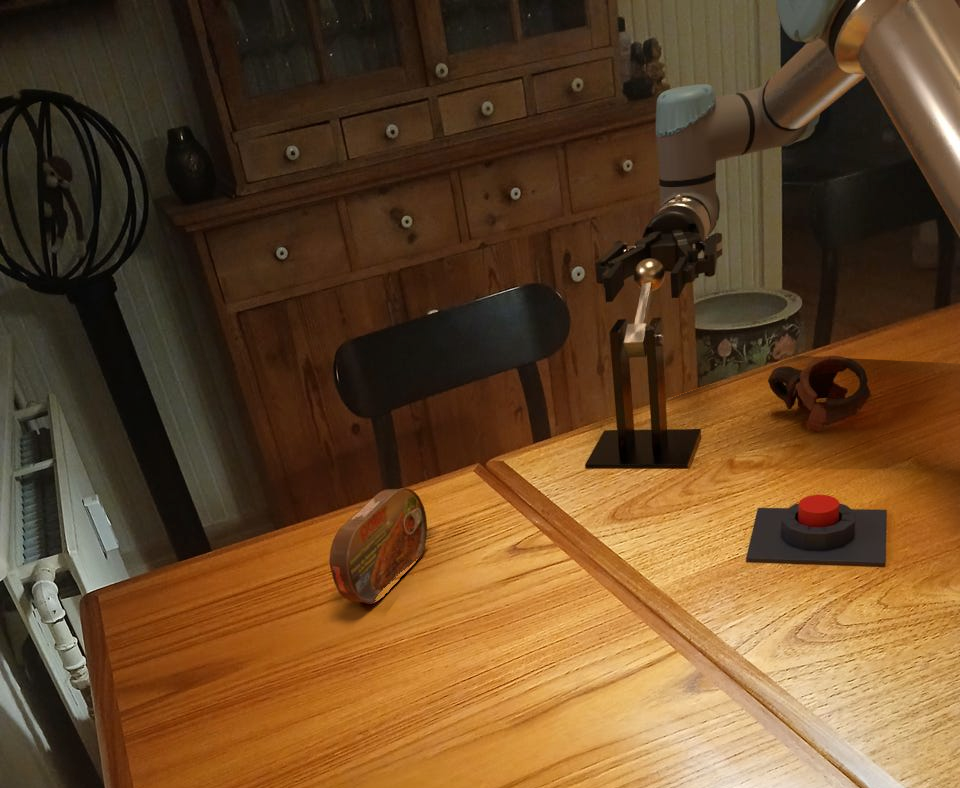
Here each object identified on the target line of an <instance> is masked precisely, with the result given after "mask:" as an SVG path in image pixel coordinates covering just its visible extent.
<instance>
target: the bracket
mask: <svg viewBox="0 0 960 788" xmlns="http://www.w3.org/2000/svg"><path fill="white" fill-rule="evenodd" d="M662 320H663V319H662V317H661V316H658V317H652V319H651V320H650V322H649V324H648V325H647V329H646V331H645V333H646V350H647V355H646V363H647V364H646V365H647V381H648V383H647V384H648V397H649V413H650V415H649V416H650V429H635V422H634V421H635V420H634V406H633V393H632V379H631V363H630V358H627V356H626V351H625V347H624V338H625V333H626V328H627V324H628V319H627V318H619V319H617V320H616V322H615V323H614V325H612V327H611V329H610V330H609V332H608V333H609V339H608V345H609V348H610V357H611V358H610V359H611V370H612V381H613V395H614V406H615V408H614V409H615V420H616V421H615V422H616V429H604V430H603V431H602V433H601V435H600V437H599V439H598V440H597V442H596V444H595V446H594V448H593V450H592V451H591V453H590V455H589V456H588V459H587V460H586V462H585V464H584V469H585V470H690V468H691V466H692V463H693V461H694V458H695V456H696V452H697V450H698V447H699V445H700V442H701V439H702V429H701V428H677V429H676V428H673V429H672V428H670V429H668V418H667V417H668V414H667V399H666V398H667V397H666V394H667V393H666V378H665V375H666V374H665V357H664V355H665V354H664V345H665V333H664V332H663V321H662Z"/></svg>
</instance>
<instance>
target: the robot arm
mask: <svg viewBox="0 0 960 788" xmlns="http://www.w3.org/2000/svg"><path fill="white" fill-rule="evenodd" d="M775 5H776V11H777V15H778V19H779V23H780V25H781V27H782V29H783V31H784V32H785V34H786V35H787V36H788V37H789V38H790V39H791V40H792V41H794V42H799V43H800V42H802V43H804V45H803V46H802V48H800V49H799V50H798V51H797V52H796V53H795V54H794V55H793V56H792V57H791V58H790V59H789V60H788V61H787V62H786V63H785V64H784V65H783V66H781V68H780V69H779V70H778V71H777V72H775V73H774V74H773V75H772V76H771V77H770V78H769V79H767V80H766V82H764V83H763V84H762V85H761V86H759V87H757V88H753V89H749V90H745V91H741V92H736V93H731V94H726V95H720V96H715V89H714V87H713V86H712V85H711V84H709V83H708V84H707V83H699V84H691V85H684V86H677V87H673V88H670V89H667V90H665V91H663V92H662V93H660V95H658V97H657V99H656V104H655V105H656V106H655V107H656V108H655V109H656V110H655V136H656V137H655V138H656V149H657V162H658V174H659V175H658V176H659V177H658V183H659V184H658V191H659V192H658V193H659V210H658V211H657V212H656V214H655V215H653V217H652V218H651V219H650V220H649V221H648V224H647V225H646V227H645V229H644V231H643V234H642V237H641V238H640V239H638V240H636V241H635V242H634V244H633V245H628V243H627V242H624V241H623V240H619V239H618V240H616V241H614V242H613V246H612V247H611V248H609V249H608V250H607V251H606V252H604V253H603V254H601V256H600V257H599V258H598V259H596V260H595V261H594V267H595V268H594V269H595V271H594V272H595V279H596V280H595V282H596V284H599V285H601V284H602V287H603V288H604V296H605V297H604V299H605V303H612V302H613V301H615V299H616V297H617V296H618V294H619V293H620V292H621V290H623V287H624V286H625V280H627V279H628V278H631V277H632V276H634V271H635V268H636V267H637V265H638V264H639V263H640V262H641V261H643V260H645V259H649V258H653V259H656V260H658V261H659V262H661V263H662V265H663V267H664V269H665V273H670V289H671V290H670V293H671V294H670V295H671V299H679V297H680V296H681V294H682V292H683V291H684V288H685V287H686V285H687V284H689V283H690V284H691V283H694V282H695V281H696V279H699V278H700V277H699V275H701V274H704V277H709V278H711V277H714V276H715V275H716V272H717V271H716V270H717V263H718V259H719V258H720V257H722V256H723V233H721V232H715V233H713V231H714V230H715V228H716V226H717V222H718V221H719V219H720V211H721V200H720V196H719V194H718V192H717V162H719V161H724V160H727V159H731V158H734V157H739V156H744V155H748V154H754V153H756V152H761V151H765V150H766V151H767V150H771V149H774V148H784V147H789V146H791V145H793V144H794V143H798V142H801V141H804V140H806V139H808V138H809V137H811V135H812V134H813V133H814V132H815V130H816V126H817V124H818V123H819V120H820V118H821V117H820V116H821V113H822V112H823V111H825V110H826V109H827V108H828V107H830V106H831V105H832V104H833V103H835V102H836V101H837V100H838V99H840V98H841V97H842V96H844V95H845V94H846V93H848V91H849V90H851V89H852V88H854V86H856V85H857V84H858V83H859V82H861V81H862V80H863V79H864V78H867V80H868V82H869V83H870V85H871V88H872V89H873V90H874V92H875V94H876V96H877V97H878V99H879V100H880V103H881V104H882V106H883V108H884V109H885V110H886V113H887V115H888V116H889V118H890V120H891V122H892V123H893V125H894V127H895V128H896V130H897V132H898V133H899V135H900V137H901V139H902V140H903V142H904V144H905V146H906V148H907V149H908V151H909V152H910V154H911V156H912V159H914V161H915V163H916V164H917V166H918V168H919V169H920V172H921V173H922V175H923V176H924V177H923V178H925V180H926V182H927V184H928V185H929V187H930V189H931V190H932V192H933V194H934V195H935V198H936V199H937V201H938V203H939V204H940V206H941V208H942V209H943V211H944V213H945V214H946V216H947V218H948V220H949V222H950V223H951V225H952V227H953V229H954V231H955V233H956V234H957V236H958V238H960V0H775ZM712 233H713V234H712ZM702 252H703V257H699V254H701V253H702Z"/></svg>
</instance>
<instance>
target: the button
mask: <svg viewBox="0 0 960 788" xmlns="http://www.w3.org/2000/svg"><path fill="white" fill-rule="evenodd" d="M798 503H799V505H798V522H799V523H800V524H802V525H805V526H808V527H827V526H832V525H835V524H837V522H838V520H839V505H840V504H841V503H840V501H839V500H838V499H837V498H836V497H834V496H831V495H829V494H828V495H827V494H812V495H807V496H805V497H803V498H801V499H800V500H799V501H798ZM839 503H840V504H839Z"/></svg>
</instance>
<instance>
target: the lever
mask: <svg viewBox="0 0 960 788" xmlns="http://www.w3.org/2000/svg"><path fill="white" fill-rule="evenodd" d="M665 278H666V272H665V269H664V267H663V265H662V263H661V262H659V261H658V260H656V259H653V258H649V259H645V260H643V261H641V262H640V263H639V264H638V265H637V267H636V268H635V271H634V275H633V281H634V283H635V285H636V286H637V287H638V288H639V289H640V292H639V297H638V302H637V306H636V307H637V308H636V313H635V317H634V322H633V323H627V328H626V333H625V338H624V347H625V351H626V356H627V358H629V359H630V358H647V350H646V333H645V331H646V329H647V327H648V324H647V319H648V315H649V311H650V304H651V298H652V293H653V291H656V290H658V289H659V288H660V287H661V286H662V285H663V283H664V282H665Z"/></svg>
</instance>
